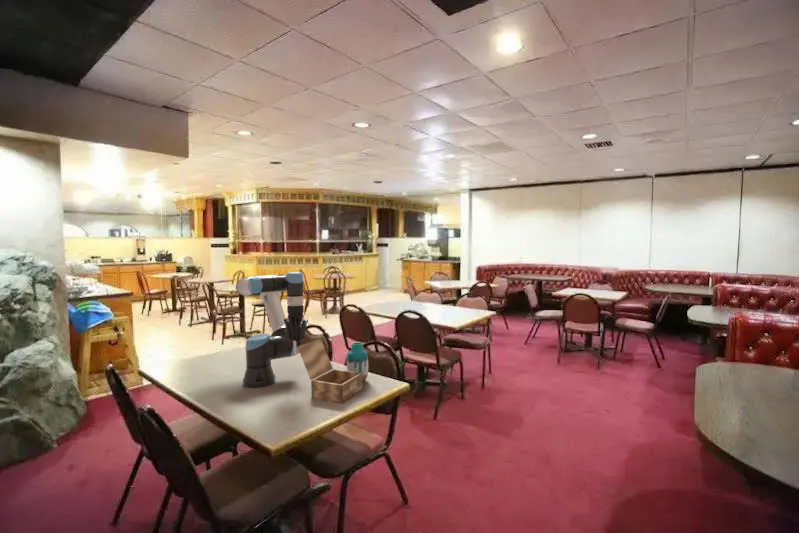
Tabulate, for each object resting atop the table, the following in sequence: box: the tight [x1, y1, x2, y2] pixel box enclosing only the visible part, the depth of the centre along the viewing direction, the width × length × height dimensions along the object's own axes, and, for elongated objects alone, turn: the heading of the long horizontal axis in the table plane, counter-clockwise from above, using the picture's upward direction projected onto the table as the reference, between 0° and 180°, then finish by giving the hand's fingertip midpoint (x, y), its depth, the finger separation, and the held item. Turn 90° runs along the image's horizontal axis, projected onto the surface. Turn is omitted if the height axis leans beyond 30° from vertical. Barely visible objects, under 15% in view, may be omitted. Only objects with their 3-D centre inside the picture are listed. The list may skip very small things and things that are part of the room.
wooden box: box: [310, 368, 364, 405], centre depth 184 cm, size 16×18×8 cm
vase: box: [346, 341, 369, 382], centre depth 200 cm, size 11×11×19 cm
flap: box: [298, 337, 334, 381], centre depth 188 cm, size 16×17×1 cm
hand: (296, 353), depth 193 cm, fingers closed
